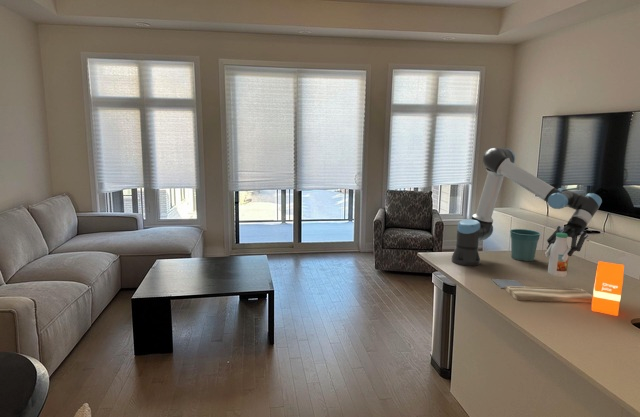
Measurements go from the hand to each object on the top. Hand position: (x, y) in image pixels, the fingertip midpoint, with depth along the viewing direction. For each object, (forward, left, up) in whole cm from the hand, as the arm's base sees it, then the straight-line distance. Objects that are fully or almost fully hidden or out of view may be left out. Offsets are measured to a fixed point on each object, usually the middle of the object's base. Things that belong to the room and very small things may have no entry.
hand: (554, 257), depth 195 cm
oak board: (+12, -7, -14) cm, 20 cm away
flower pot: (-50, +9, -15) cm, 53 cm away
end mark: (-2, -19, -14) cm, 24 cm away
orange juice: (+26, +8, -15) cm, 31 cm away
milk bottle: (-2, +3, -9) cm, 9 cm away
